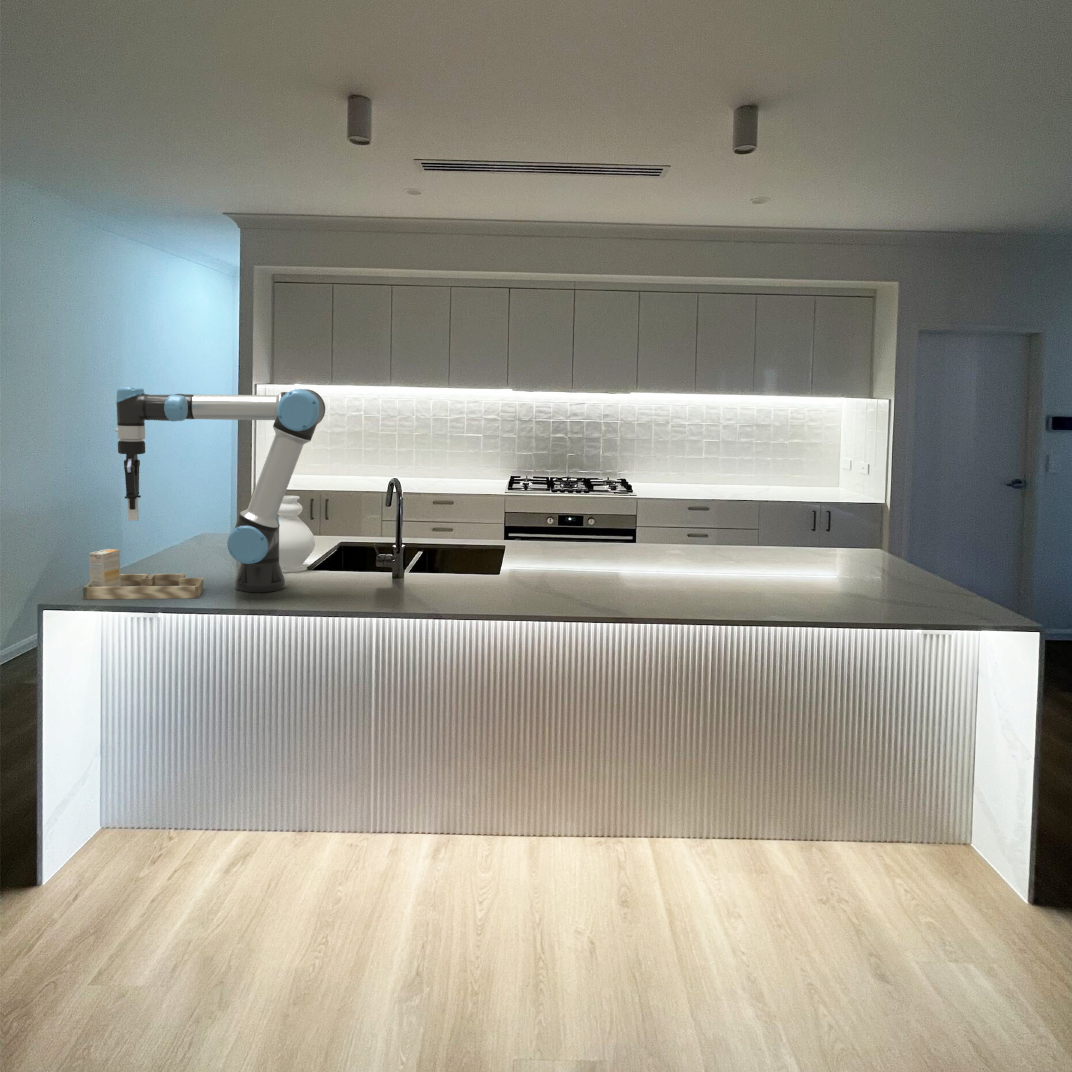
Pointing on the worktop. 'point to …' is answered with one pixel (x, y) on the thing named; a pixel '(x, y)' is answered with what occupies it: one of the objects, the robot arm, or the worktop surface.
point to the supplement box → (105, 568)
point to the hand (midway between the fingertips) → (133, 520)
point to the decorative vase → (293, 536)
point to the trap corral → (148, 587)
